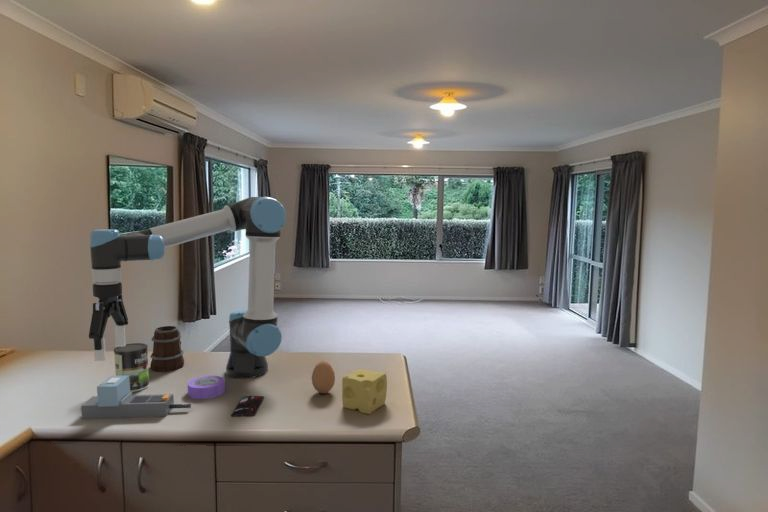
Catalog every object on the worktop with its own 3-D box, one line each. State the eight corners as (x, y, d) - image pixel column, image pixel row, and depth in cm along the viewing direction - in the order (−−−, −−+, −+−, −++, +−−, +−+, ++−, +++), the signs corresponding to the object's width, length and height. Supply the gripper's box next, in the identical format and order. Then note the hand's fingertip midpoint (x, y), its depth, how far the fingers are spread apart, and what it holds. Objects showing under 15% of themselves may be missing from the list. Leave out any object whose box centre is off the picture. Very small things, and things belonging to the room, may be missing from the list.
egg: (325, 386, 176) (325, 356, 174) (339, 392, 170) (339, 361, 169) (307, 392, 170) (306, 361, 169) (321, 399, 165) (321, 366, 164)
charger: (130, 394, 158) (129, 374, 158) (117, 406, 150) (116, 385, 149) (111, 394, 158) (110, 374, 157) (98, 406, 149) (96, 385, 148)
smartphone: (230, 416, 152) (242, 395, 167) (230, 418, 152) (242, 397, 167) (254, 415, 152) (264, 395, 167) (254, 417, 152) (264, 397, 167)
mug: (176, 372, 190) (174, 332, 188) (144, 371, 191) (142, 332, 189) (194, 358, 205) (192, 322, 204) (165, 357, 206) (163, 321, 204)
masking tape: (183, 390, 172) (183, 379, 172) (218, 383, 179) (217, 372, 179) (193, 402, 163) (193, 390, 162) (229, 393, 170) (229, 382, 169)
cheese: (369, 415, 153) (369, 383, 152) (340, 407, 159) (340, 376, 158) (387, 403, 162) (387, 373, 161) (359, 396, 168) (359, 366, 167)
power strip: (193, 405, 160) (193, 390, 159) (187, 415, 153) (186, 399, 152) (93, 408, 157) (92, 393, 156) (82, 418, 150) (80, 402, 150)
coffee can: (156, 383, 179) (154, 343, 177) (136, 394, 169) (133, 352, 167) (130, 380, 181) (127, 342, 179) (109, 391, 171) (106, 350, 169)
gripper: (112, 275, 161) (116, 341, 164) (71, 290, 137) (76, 367, 139) (137, 275, 162) (140, 341, 165) (100, 290, 137) (105, 366, 140)
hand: (110, 353), depth 152 cm, fingers open, 13 cm apart
